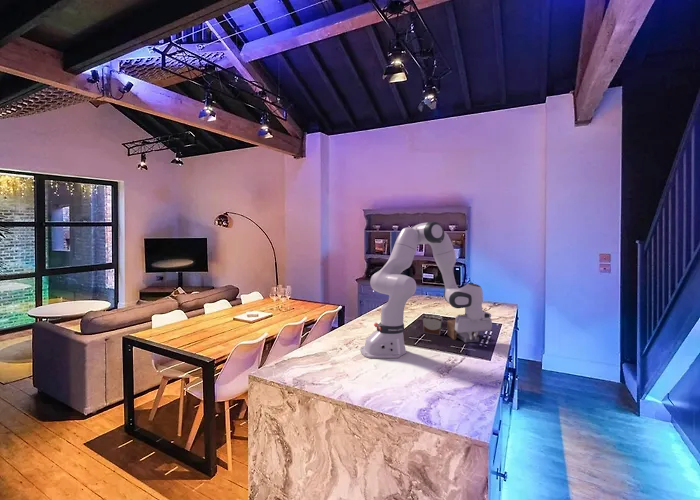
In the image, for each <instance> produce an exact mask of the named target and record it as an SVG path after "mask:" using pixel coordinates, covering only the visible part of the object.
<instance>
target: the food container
mask: <svg viewBox="0 0 700 500" xmlns="http://www.w3.org/2000/svg"><path fill="white" fill-rule="evenodd" d="M421 319H422V326H423V333H424V334H425V333H426V334H431V335H434V336H435V335H437V336H441V329H442V323H443V321H444V320H443V316H441V315H437V314H431V313H430V314H428V313H427V314H422V316H421Z"/></svg>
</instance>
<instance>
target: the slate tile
mask: <svg viewBox="0 0 700 500" xmlns="http://www.w3.org/2000/svg"><path fill="white" fill-rule="evenodd" d="M471 335H472V336H473V335H474V334H471ZM456 338H458V339H460V340H461V341H463V342H464V343H474V342H475V343H476V342H477V343H479V342H480V337H477V336H476V339H475V340H470V336H469V334H468V332H460V333H458V332H457V334H456Z"/></svg>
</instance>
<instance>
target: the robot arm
mask: <svg viewBox="0 0 700 500" xmlns="http://www.w3.org/2000/svg"><path fill="white" fill-rule="evenodd" d="M419 245H428V246H430V247H431V251H432V256H433V258H434V261H435V263H436V265H437V268H438V269H439V271H440V273H441V277H442V282H443V284H444V290H443V291H444V292H443V298H444V300H445V301H446V303H448V304H449V305H450V306H451V307H452V308H454V309H464V314H457V316H455V319H454V320H455V331H457V332H458V333H460V332H468V334H469V336H470V340H475V339H476V336H477V335H478V331H479V332H488V331H491V330H492V329H493V322H492V321H493V320H492V318H491V317H492V314H491V313H489V312H487V311H485V310H483V302H484V301H483V299H484V297H483V296H484V294H483V292H484V291H483V287H482V286H480V285H479V284H477V283H471V282H470V283H466V285H464V286H462V287H459V286H458V285H457V282H456V279H455V274H454V266H455V265H456V263H457V256H456V251H455V248H454V246H453V245H454V244H453V243H452V239H451V238H450V236H449V234H448V233H447V232H446V231H445V230H444V228H443V226H442V224H441V223H439V222H437V221H427V222H421V223H417V224H415V225H412V226H411V227H404V228H402V229H401V231H400V232H399V234H398V235H397V237H396V240H395V242H394V245H393V248H392V250H391V253H390V256H389V258H388V260H387V262H386V263H385V264H384V265H383V267H381V269H380V270H378V271H377V272H375V273H374V274H372V275H371V277H370V280H369V281H370V283H369V284H370V288H371V289H372V290H374V291H375V293H376V292H377V293H379V294H381V295H382V294H383V295H386V296H387V295H388V301H387V302H386V303H384V304H383V305H382V306H381V308H380V322H379V323H378V322H374V324H373V326H374V327H375V328H376V330H375V331H374V332H373V333H371V334H370V335H368V336H367V337H366V339H365V342H364V345H363V346H361V347H360V349H359V350H360V353H361V354H362V356H364V357H366V358H368V359H400V358H401V356H403V355H405V354H406V353H407V349H406V345H405V339H404V335H405V323H404V313H405V306H406V304H407V302H408V300H409V299H410V298H411V297H412V296H414V295H415V293H416V291H417V283H416V280H415V279H414V277H411V276H408V275H406V274H402V273H403V271H405V270H407V269H409V268H410V267H411V266H412V263H413V260H414V259H415V255H416V251H417V247H418V246H419ZM472 332H475V333H474V335H473V336H472V335H471V334H472Z"/></svg>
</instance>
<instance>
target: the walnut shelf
mask: <svg viewBox="0 0 700 500" xmlns="http://www.w3.org/2000/svg"><path fill="white" fill-rule="evenodd" d="M446 322H447V324H446V325H447V326H446V336H448V337H449V338H451V339H452V340H457V337H456V334H457V331H455V319H449V320H448V319H447V321H446ZM479 332H480V331H478V335H477V337H479V334H480V333H479ZM474 333H475V332H472V334H474ZM479 338H480V337H479Z"/></svg>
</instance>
